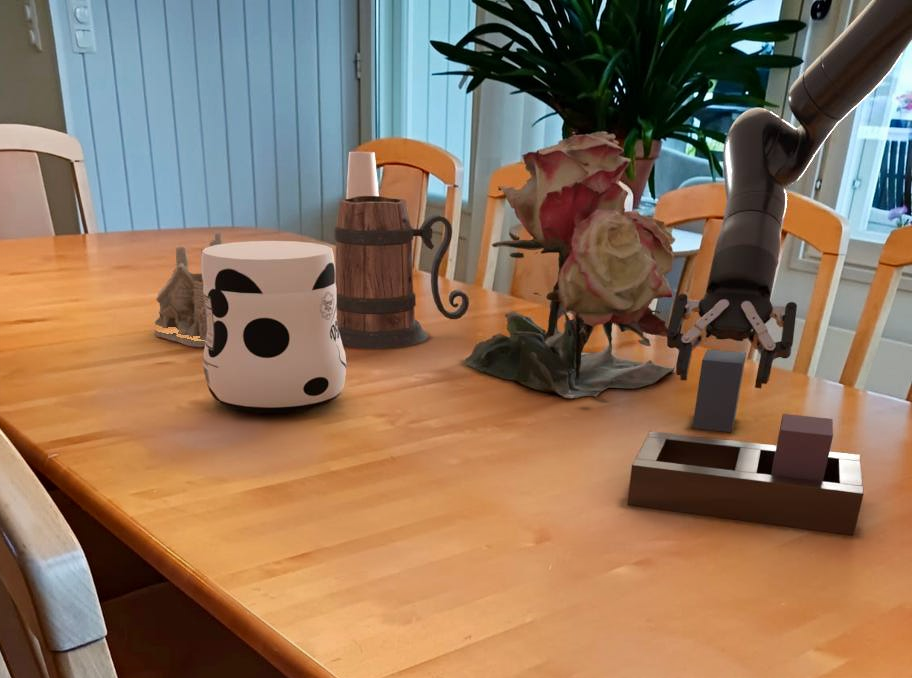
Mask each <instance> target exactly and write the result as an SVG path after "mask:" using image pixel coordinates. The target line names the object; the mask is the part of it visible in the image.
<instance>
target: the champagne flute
mask: <svg viewBox="0 0 912 678" xmlns="http://www.w3.org/2000/svg"><path fill="white" fill-rule="evenodd" d="M346 179H347V180H346V197H345V199H349V198H353V197H357V196H380V195H379V193H380V192H379V185H378V184H379V182H378V174H377V163H376V153H375V152H374V151H349V152H348V162H347V178H346Z"/></svg>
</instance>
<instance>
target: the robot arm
mask: <svg viewBox="0 0 912 678" xmlns="http://www.w3.org/2000/svg"><path fill="white" fill-rule="evenodd" d="M910 43H912V0H871V1H870V2H869V3H868V4H867V5H866V6H865V7H864V9H863V10H862V11H861V12H860V13H859V14H858V15H857V16H856V18H855V19H854V20H853V21H852V22H851V23H850V24H849V25H848V27H846V29H844V31H843V32H842V33H841V34H840V35H838V37H836V39H835V40H834V41H832V43H831V44H830V45H829V46H828V47H827V48H826V49H825V50H824V51H823V52H822V53H821V54H820V55H819V56H818V57H817V58H816V59H815V60H814V61H813V62H812V63H811V64H810V65H809V66H808V67H807V68H806V70H804V71H803V72H802V73H801V75H800V76H799V77H798V78H797V79H796V80H795V81H793V83H792V85H791V86H790V89H789V91H788V94H787V102H788V106H789V109H790V111H791V113H792V115H793V116H794V118H795V119H796V121H797V122H798V123H799V126H798V127H795V126H793V125H791V124H790V123H789V122H787V121H785V120H784V119H782V118H780V117H779V116H778V115H776V114H775V113H774V112H772V111H770V110H768V109H766V108H764V107H751V108H749V109H747V110H745V111H744V112H743V113H740V114H739V116H737V118H736V119H735V120H734V121H733V123H732V125H731V126H730V128H729V130H728V132H727V134H726V137H725V141H724V146H723V152H722V166H723V167H722V168H723V178H724V185H725V186H724V188H725V195H726V205H725V209H724V215H723V220H722V225H721V229H720V231H719V234H718V236H717V239H716V242H715V247H714V252H713V256H712V262H711V266H710V271H709V275H708V279H707V285H706V288H705V293H704V296H703V297H702V298H701V299H700V300H697V299H689V298H688V295H687V294H686V293H681V294H678V296H677V297H676V300H675V302H674V303H675V304H674V307H673V311H672V313H671V317H670V321H669V324H668V328H667V331H666V346H667V348H669V349H677V350H678V355H677V359H676V364H675V373H676V375H677V376H680V378H679V380H680V381H685V382H686V381H687V380H688V376H689V372H690V371H689V370H690V366H691V362H692V357H693V351H694V350H695V349H697V348H698V347H700V345H704V344H705V343H706V342H708V341H709V340H710V339H711V338H712V337H715V339H716V340H721V341H723V340H733V341H736V342H744V340H748V341H749V343H750V344H751V345H752V347H753V349H754V350H757V352H758V354H759V355H760V356H759V362H758V368H757V373H756V378H755V385H754V388H755V389H762V385H767V384H768V383H769V381H770V376H771V371H772V366H773V362H774V361H775V360H776V359H778V358H781V359H788V358H790V356H791V353H792V347H793V344H794V336H795V327H796V320H797V319H796V317H797V309H798V304H797V303H796V302H794V301H789V302H787V303H786V305H785V306H781V305H780V306H779V305H777V306H776V305H775V306H773V304H772V302H771V298H772V293H773V289H774V284H775V283H774V282H775V277H776V272H777V267H778V265H779V257H780V252H781V239H782V237H781V235H782V230H783V225H784V219H785V214H786V209H787V200H788V199H787V198H788V197H787V193H786V190H785V189H786V188H789V187H791V186H792V185H793V184H795V183H796V182H797V181H798V180H800V178H801V177H802V176H803V175H804V173H805V171H806V170H807V168H808V167H809V165H810V164H811V162H812V161H813V159H814V157H815V155H816V154H817V153H818V151H819V150H820V148H821V147H822V146H823V144H824V142H825V141H826V139H827V138H828V137H829V136H830V135H831V133H832V131H833V130H834V129H835V128H836V126H837V125H838V124H839V123H840V122H841V121H842V120H843V119H844V118H845V117H847V116H848V115H849V114H850V113H851V112H852V111H853V110H854V109H855V108H856V107H858V105H860V104H861V103H862V101H864V100H865V99H866V98H867V97H868V96H869V95H870V94H871V93H872V92H873V91H874V90H875V89H876V88H877V87H878V86H879V85H880V84H881V83H882V82H883V81H884V79H885V78H886V77H887V76H888V75H889V74H890V72H891V71H892V70H893V69H894V67H895V65H896V64H897V62H898V61H899V60H900V58H901V57H902V54H904V52H905V50H906V49H907V48H908V46H909V44H910ZM694 313H698V315H699V319H698V320H697V321H696V322H695V323H694V325H693V327H691V328H690V329H689V330H688V331H687V332H685V333H682V329H683V326H684V323H685V320H686V321H688V320H689V319H690V318H691V317H692V316H693V314H694ZM771 319H774V320H775V321H776V325H777V326H778V327H779V328H782V331H781V340H780V341H776V342H775V341H774V339H773V338H772V336H771V334H769V332H768V331H769V330H768V327H767V326H766V325H765V324H767V323H768V322H770V320H771Z"/></svg>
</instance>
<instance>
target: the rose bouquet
mask: <svg viewBox="0 0 912 678" xmlns="http://www.w3.org/2000/svg"><path fill="white" fill-rule="evenodd" d="M571 133H573V135H572V136H569V137H568V138H564V139H561V140H558V142H557V144H553V145H550V146H547V147H544V148H540V149H537V150H536V151H527V152H526V153H524V154H521V157H522V160H523V162H524V165H525V171H527V172H529V175H530V177H529V178H528V179H527V180H526V181H525V182H526V183H525V184H524V185H523V186H522V187H520V189H516V188H515V187H514V186H511V187H505V186H501V185H500V186H499V185H498V186H497V189H498V191H502V192H503V195H504V196H505V199H506V200H507V202H508V204H509V207H510V208H512V209H514V214H515V216H516V218H517V219H518V221H519V222H520V224H521V226H523V228H524V230H526V232H527V233H528V234H529V235H530V236H531V237H532V239H515V240H514V239H513V240H511V239H510V240H500V241H496V242H493V243H491V246H492V247H493V248H501V247H506V248H514V249H520V250H527V251H537V250H541V251H540V254H549V253H550V254H553V253H555V254H558V258H557V261H558V271H557V280H556V282H555V284H554V285H553V290H552V291H550V292H548V293H547V294H546V297H545V298H546V300H548V301H550V303H549V314H548V322H547V323H548V327H547V331H546V330H545V329H544V328H542V327H541V326H539V325H538V324H536V323H535V321H534V319H533V318H532V317H529V316H525V315H523V314H520V313H519V312H518V311H516V310H514V311H513V310H511V311H510V312H508V313H504V317H505V318H506V321H507V324H506V330H507V332H508V333H509V336H508V335H505V334H502V333H501V332H499V333H497V334H494V335H492V337H490V338H488V339H486V340H484V341H479V342H478V343H476V344H475V345H474V348H473V349H472V352H471V354H470V355H468V356H467V357H466V358H465V365H466V366H468V367H471V368H472V369H475V370H476V371H479V372H482V373H484V374H488V375H491V376H494V377H497V378H498V379H501V380H504V381H506V380H510V381H517V382H518V383H519V384H522V385H523V386H525V387H528V388H530V389H533V390H537V391H539V392H544V393H552V394H553V393H554V394H557V395H560V396H562V397H563V398H565V399H578V398H581V397H591V396H593V397H594V398H596V399H599V400H604V399H602V398H600V397H598V396H599V395H600V394H601V393H602V392H603V391H605V390H607V389H608V388H613V389H614V388H616V389H635V390H636V389H639V388H643V387H645V386H649V385H652V384H654V383H657V381H659V380H660V379H661V378H663V377H664V376H666V375H668V373H671V372H674V371H675V370H676V366H663V365H661V364H659V363H655V362H654V361H652V360H648V361H646V362H638V361H633V360H627V359H621V358H618V357H617V356H616V355H615V354H613V344H612V343H613V342H612V341H613V335H612V333H613V325H614V324H617V326H618V328H619V330H620V332H621V333H623V332H626V331H631V332H633V333H634V334H636V335H638V336H639V337H640V338H641V339H639V340H637V342H638V343H639V344H640V345H643V346H645V347H651V342H650V339H649V338H647V337H646V336H645V335H644V333H645V334H647V335H651V336H657V335H660V334H662V333H663V332H664V331H665V330H666V324H667V322H666V321H665V320H664V319H662V318H660V317H659V316H657V315H656V314H655V313H657V314H659V315H660V314H661V311H659V310H654V309H652V308H651V307H650V305H651V304H652V302H653V301H654V300H655V299H656V300H658V299H663V298H670V299H671V298H673V291H672V288H671V286H670V283H669V280H668V279H667V278H666V277H664V276H665V275H667V274H669V273H670V272H671V271H672V269H673V268H674V267H673V266H674V258H675V257H674V250H673V246H672V245H673V244H674V243H675V242H676V238H675V237H674V236H673V234H672V233H671V232H670V231H669V229H668V227H667V225H666V224H665V222H664V221H661V220H659V219H656V218H654V217H651V216H648V215H643V214H642V213H641V214H640V212H639V211H637V210H628V211H627V210H626V209H625V202H626V200H627V197H628V196H629V192H628V191H627V190H626V189H625V188H624V187H622V186H621V185H620V184H619V183H620V181H621V177H622V176H623V175H622V174H623V173H624V171H625V170H626V169H627V168H628V167H629V165H630V163H631V162H632V159H631V158H628V157H624V156H621V155H620V154H622V153H624V152H625V151H624V148H623V147H621V146H619V144H620V143H619V141H618V140H615V139H616V134H614V133H608V132H607V131H596V132H592V133H585V134H576V132H575V131H572V132H571ZM536 254H538V251H537V252H535V253H534V255H536ZM509 256H510V258H515V259H523V258H525V254H524V253H523V252H518V251H517V252H511V253H510V254H509ZM449 260H450V262H452V258H450V259H449ZM532 294H533V295H537V296H540V297H542V295H541V294H540V293H538V292H533V293H532ZM569 312H572V314H573V319H570V317H569V316H568V313H569ZM563 316H564V319H565V322H563V328H564V331H561V330H559V327H558V322H559V319H560V318H561V317H563ZM542 325H543V322H542ZM598 325H599V326H600V325H602V328H603V332H604V334H605V335H606V338H607V341H608V345H607V347H606V348H605V349H604V350H602V351H598V352H583V350H584V348H585V345H586V344H587V343H588V342H589V339H590V337H591V335H592V333H593V331H594V329H595V327H596V326H598Z"/></svg>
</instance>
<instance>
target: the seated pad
mask: <svg viewBox="0 0 912 678" xmlns="http://www.w3.org/2000/svg"><path fill="white" fill-rule="evenodd" d="M833 420H834V419H833V418H826V417H817V416H809V415H798V414H789V413H783V414H782V416H781V421H780V426H779V431H778V436H777V442H776V451H775V456H774V461H773V466H772V472H771V475H774V476H782V477H790V478H799V479H807V480H815V481H823V479H824V474H825V470H826V465H827V461H828V456H829V452H831V447H832V442H833V438H834V421H833Z"/></svg>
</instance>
